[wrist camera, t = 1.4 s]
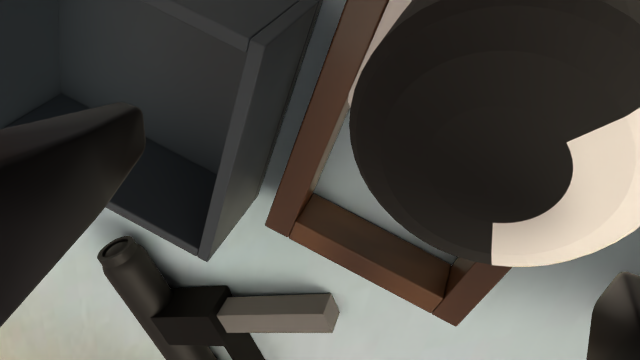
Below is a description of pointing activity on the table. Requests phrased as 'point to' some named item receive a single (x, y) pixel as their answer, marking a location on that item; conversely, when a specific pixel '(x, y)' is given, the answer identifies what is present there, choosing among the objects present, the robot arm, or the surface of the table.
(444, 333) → the table surface
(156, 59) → the tote
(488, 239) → the medicine bottle
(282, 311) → the door handle
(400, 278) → the frame
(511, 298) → the table surface
